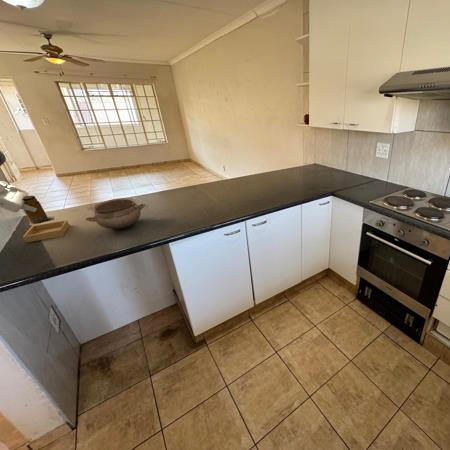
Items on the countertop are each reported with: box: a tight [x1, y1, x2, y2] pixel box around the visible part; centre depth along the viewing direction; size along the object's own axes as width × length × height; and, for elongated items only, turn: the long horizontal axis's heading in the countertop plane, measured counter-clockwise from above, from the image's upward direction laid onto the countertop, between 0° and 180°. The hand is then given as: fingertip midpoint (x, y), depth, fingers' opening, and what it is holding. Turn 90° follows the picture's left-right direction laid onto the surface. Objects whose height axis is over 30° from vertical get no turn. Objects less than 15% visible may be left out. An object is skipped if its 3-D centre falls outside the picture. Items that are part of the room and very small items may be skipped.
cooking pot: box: [85, 197, 146, 230], centre depth 123 cm, size 25×19×12 cm
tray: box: [22, 219, 70, 243], centre depth 119 cm, size 13×12×3 cm
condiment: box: [22, 195, 55, 226], centre depth 113 cm, size 7×8×12 cm
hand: (37, 207), depth 114 cm, fingers closed on condiment, 6 cm apart
